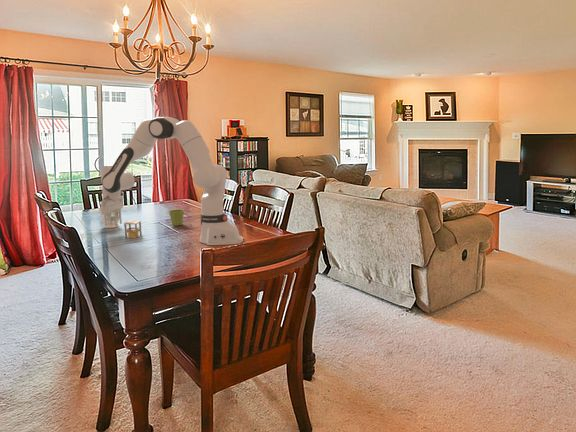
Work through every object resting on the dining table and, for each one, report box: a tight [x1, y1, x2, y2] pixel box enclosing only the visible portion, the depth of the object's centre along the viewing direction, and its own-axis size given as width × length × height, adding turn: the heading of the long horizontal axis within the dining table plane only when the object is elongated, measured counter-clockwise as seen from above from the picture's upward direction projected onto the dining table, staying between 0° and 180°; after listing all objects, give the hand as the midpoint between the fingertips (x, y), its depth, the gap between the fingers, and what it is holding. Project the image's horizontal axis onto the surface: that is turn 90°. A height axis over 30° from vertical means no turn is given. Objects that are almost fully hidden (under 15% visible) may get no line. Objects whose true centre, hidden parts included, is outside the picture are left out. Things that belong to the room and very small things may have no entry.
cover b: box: [104, 209, 122, 226], centre depth 235 cm, size 6×6×8 cm
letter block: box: [127, 229, 140, 239], centre depth 230 cm, size 4×4×4 cm
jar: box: [99, 201, 120, 229], centre depth 253 cm, size 11×10×15 cm
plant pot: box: [168, 209, 185, 227], centre depth 258 cm, size 9×9×9 cm
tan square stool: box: [123, 220, 143, 239], centre depth 229 cm, size 6×6×8 cm
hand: (113, 219), depth 235 cm, fingers closed on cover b, 6 cm apart
